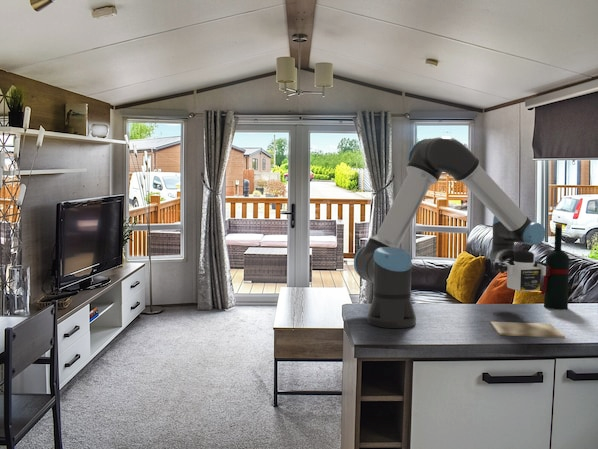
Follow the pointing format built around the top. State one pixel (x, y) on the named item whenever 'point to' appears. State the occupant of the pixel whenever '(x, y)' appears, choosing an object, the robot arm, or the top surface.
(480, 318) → the top surface
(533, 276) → the medicine bottle
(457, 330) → the top surface
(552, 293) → the wine bottle
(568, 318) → the top surface
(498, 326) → the cork mat
